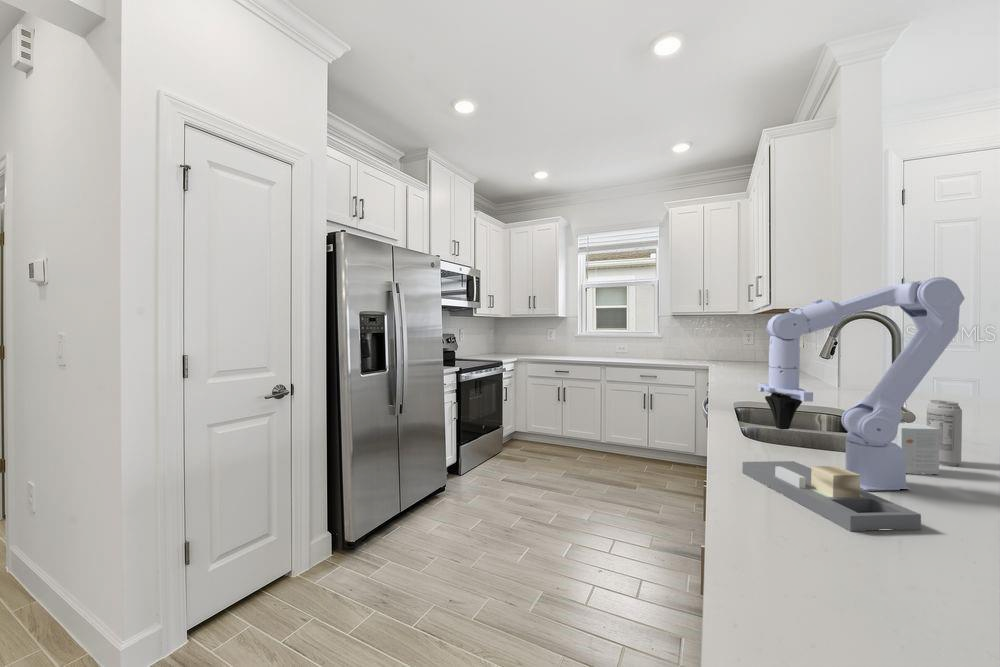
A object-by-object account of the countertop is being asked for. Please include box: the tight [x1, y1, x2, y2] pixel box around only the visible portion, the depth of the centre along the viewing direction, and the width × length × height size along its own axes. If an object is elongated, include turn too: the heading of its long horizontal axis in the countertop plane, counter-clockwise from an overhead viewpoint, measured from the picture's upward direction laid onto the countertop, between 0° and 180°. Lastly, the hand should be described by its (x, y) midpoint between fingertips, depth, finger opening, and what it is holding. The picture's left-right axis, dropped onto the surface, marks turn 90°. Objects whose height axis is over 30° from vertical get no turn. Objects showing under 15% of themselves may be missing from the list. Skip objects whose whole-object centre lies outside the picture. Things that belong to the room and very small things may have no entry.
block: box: [810, 465, 861, 498], centre depth 79 cm, size 5×5×4 cm
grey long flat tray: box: [741, 460, 922, 532], centre depth 83 cm, size 12×28×4 cm, turn 3°
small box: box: [891, 422, 940, 475], centre depth 99 cm, size 8×6×10 cm
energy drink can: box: [925, 399, 963, 467], centre depth 105 cm, size 6×6×15 cm
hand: (782, 428), depth 95 cm, fingers closed
